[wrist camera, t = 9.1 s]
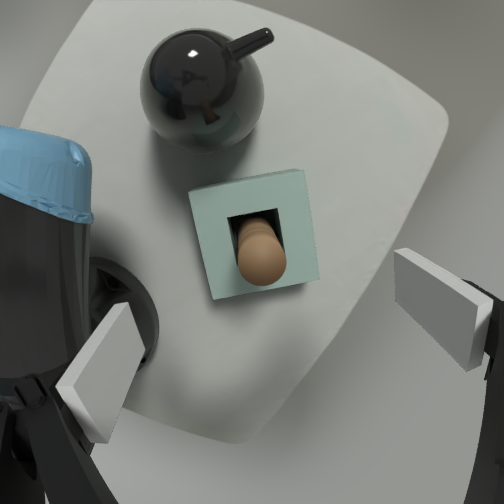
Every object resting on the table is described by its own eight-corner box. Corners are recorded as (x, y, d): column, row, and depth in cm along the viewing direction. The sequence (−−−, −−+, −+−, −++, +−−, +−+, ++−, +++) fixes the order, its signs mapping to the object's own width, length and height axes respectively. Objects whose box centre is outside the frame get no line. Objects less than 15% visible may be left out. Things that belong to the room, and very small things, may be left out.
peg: (235, 215, 32) (234, 244, 21) (266, 209, 32) (282, 235, 21) (241, 245, 33) (243, 289, 22) (272, 239, 33) (289, 281, 22)
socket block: (216, 280, 34) (213, 299, 29) (195, 187, 32) (188, 192, 27) (308, 262, 34) (319, 279, 29) (294, 168, 31) (304, 170, 27)
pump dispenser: (278, 130, 30) (313, 103, 16) (182, 171, 31) (136, 179, 16) (238, 44, 28) (240, -36, 13) (144, 85, 28) (80, 35, 14)
